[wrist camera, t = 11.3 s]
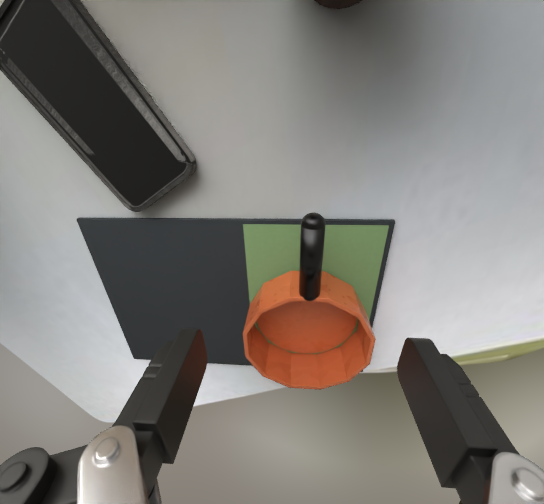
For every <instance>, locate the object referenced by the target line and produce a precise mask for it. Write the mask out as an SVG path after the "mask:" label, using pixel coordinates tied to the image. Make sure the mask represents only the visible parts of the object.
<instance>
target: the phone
mask: <svg viewBox="0 0 544 504" xmlns="http://www.w3.org/2000/svg"><path fill="white" fill-rule="evenodd" d="M0 70H1V71H2V72H3V73H4V74H5V75H6V77H7V78H8V79H9V80H10V81H11V82H12V83H13V84H14V85H15V86H16V87H17V89H18V90H19V91H20V92H21V93H22V94H23V95H24V96H25V97H26V98H27V99H28V101H29V102H30V103H31V104H32V105H33V106H34V107H35V108H36V109H37V110H38V112H39V113H40V114H41V115H42V116H43V117H44V118H45V119H46V120H47V121H48V122H49V124H50V125H51V126H52V127H53V128H54V129H55V130H56V131H57V132H58V133H59V134H60V136H61V137H62V138H63V139H64V140H65V141H66V142H67V143H68V144H69V145H70V147H71V148H72V149H73V150H74V151H75V152H76V153H77V154H78V155H79V156H80V157H81V159H82V160H83V161H84V162H85V163H86V164H87V165H88V166H89V167H90V168H91V169H92V171H93V172H94V173H95V174H96V175H97V176H98V177H99V178H100V179H101V180H102V182H103V183H104V184H105V185H106V186H107V187H108V188H109V189H110V190H111V191H112V192H113V194H114V195H115V196H116V197H117V198H118V199H119V200H120V201H121V202H122V203H123V204H124V206H125V207H127V208H128V209H129V210H131V211H134V212H140V211H142V210H144V209H146V208H147V207H149V206H150V205H152V204H153V203H154V202H156V201H157V200H158V199H160V198H161V197H162V196H164V195H165V194H166V193H168V192H169V191H170V190H172V189H173V188H174V187H176V186H177V185H178V184H180V183H181V182H182V181H184V180H185V179H186V178H188V177H189V176H190V175H192V174H193V173H194V171H195V169H196V160H195V158H194V156H193V154H192V153H191V151H190V150H189V149H188V147H187V146H186V145H185V143H184V142H183V141H182V139H181V138H180V136H179V135H178V134H177V132H176V131H175V130H174V128H173V127H172V126H171V124H170V123H169V122H168V120H167V119H166V117H165V116H164V115H163V113H162V112H161V111H160V109H159V108H158V107H157V105H156V104H155V102H154V101H153V100H152V98H151V97H150V96H149V94H148V93H147V92H146V90H145V89H144V88H143V86H142V85H141V83H140V82H139V81H138V79H137V78H136V77H135V75H134V74H133V73H132V71H131V70H130V68H129V67H128V66H127V64H126V63H125V62H124V60H123V59H122V58H121V56H120V55H119V53H118V52H117V51H116V49H115V48H114V47H113V45H112V44H111V43H110V41H109V40H108V39H107V37H106V36H105V34H104V33H103V32H102V30H101V29H100V28H99V26H98V25H97V24H96V22H95V21H94V19H93V18H92V17H91V15H90V14H89V13H88V11H87V10H86V9H85V7H84V6H83V5H82V3H81V2H80V0H4V2H3V4H2V5H1V7H0Z"/></svg>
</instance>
